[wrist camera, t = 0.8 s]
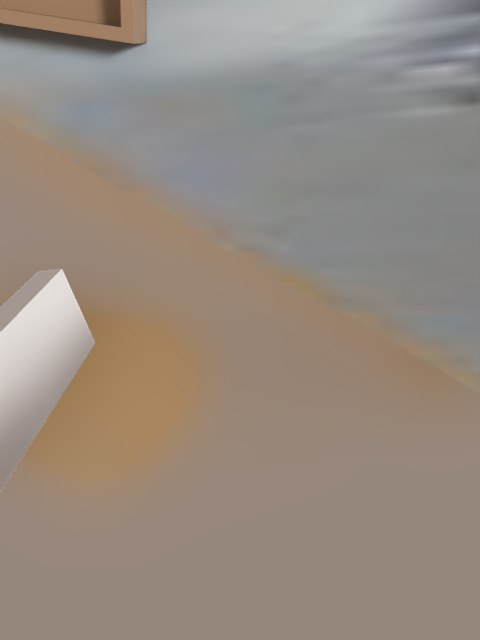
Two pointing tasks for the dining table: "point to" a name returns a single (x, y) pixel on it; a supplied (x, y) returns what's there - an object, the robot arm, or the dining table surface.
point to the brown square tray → (80, 17)
